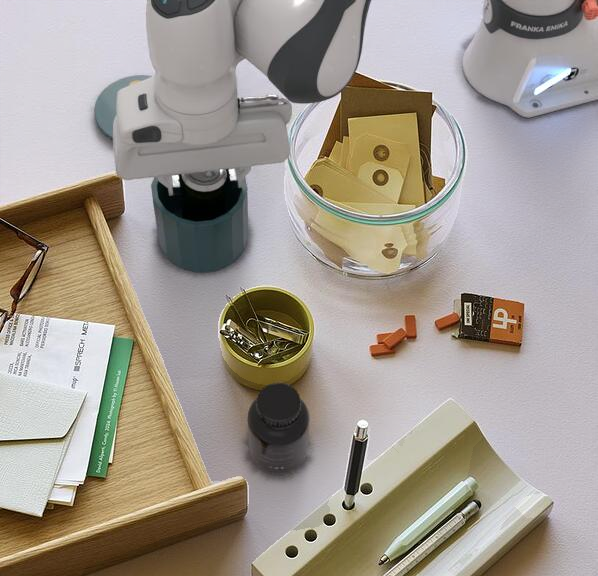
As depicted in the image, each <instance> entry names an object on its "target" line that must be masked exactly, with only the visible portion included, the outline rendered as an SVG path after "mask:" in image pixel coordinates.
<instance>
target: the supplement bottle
mask: <svg viewBox="0 0 598 576" xmlns="http://www.w3.org/2000/svg"><path fill="white" fill-rule="evenodd" d="M246 421H247V423H246V424H247V442H248V453H249V456H250V459H251V461H252V463H254V464H255V465H256V466H257V468H259V469H260V470H262V471H264V472H265V473H268V474H272V475H284V474H288V473H291V472H293V471H295V470H296V469H298V468H299V467H300V466H301V465H302V463H304V461H305V459H306V456H307V453H308V446H309V433H310V413H309V409H308V406H307V404H306V403H305V402H304V400H303V399H302V398H301V397H300V393H298V390H297V389H295V387H293V386H292V385H290V384H288V383H284V382H278V381H277V382H272V383H269V384H267V385H265V386H264V387H263V388H262V389H261V390H260V391H259V393H257V397H256V398H255V399H254V400H253V401H252V403H251V404H250V406H249V408H248V410H247V420H246Z"/></svg>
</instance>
